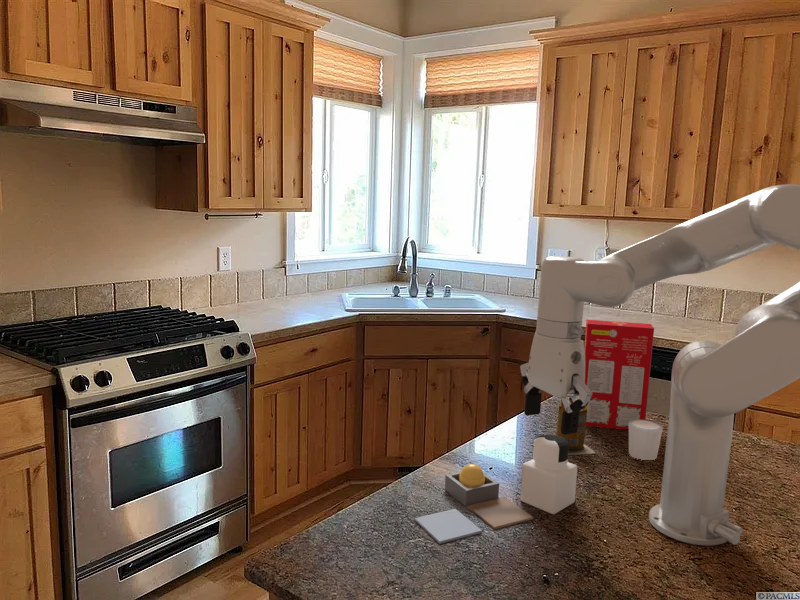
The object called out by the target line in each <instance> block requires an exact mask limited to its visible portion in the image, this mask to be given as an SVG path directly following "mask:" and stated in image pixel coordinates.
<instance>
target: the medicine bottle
mask: <svg viewBox="0 0 800 600" xmlns="http://www.w3.org/2000/svg"><path fill="white" fill-rule="evenodd" d="M568 452H569V443H568V441H567V440H566V439H564V438H562V437H560V436H557V434H541V435H538V436H536V437H535V438H534V440H533V452H532V459H530V460H528V461H526V462H524V463H522V464H521V478H520V479H521V481H520V495H519V496H520V497H519V500H520V501H521V502H523V503H525V504H528V505H530V506H532V507H534V508H537V509H539V510H541V511H544V512H546V513H549V514H551V515H555V514H557V513H559V512H560V511H562V510H563V509H565V508H567V507H569V506H571V505H572V504H574V503H575V501H576V490H577V476H578V465H577V464H575V463H574V464H573V463H571V462H569V455H568Z"/></svg>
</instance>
